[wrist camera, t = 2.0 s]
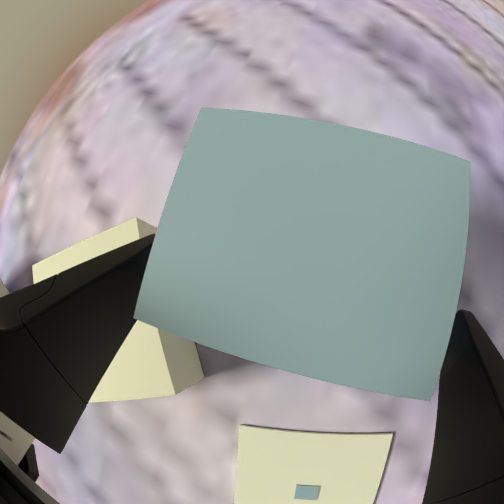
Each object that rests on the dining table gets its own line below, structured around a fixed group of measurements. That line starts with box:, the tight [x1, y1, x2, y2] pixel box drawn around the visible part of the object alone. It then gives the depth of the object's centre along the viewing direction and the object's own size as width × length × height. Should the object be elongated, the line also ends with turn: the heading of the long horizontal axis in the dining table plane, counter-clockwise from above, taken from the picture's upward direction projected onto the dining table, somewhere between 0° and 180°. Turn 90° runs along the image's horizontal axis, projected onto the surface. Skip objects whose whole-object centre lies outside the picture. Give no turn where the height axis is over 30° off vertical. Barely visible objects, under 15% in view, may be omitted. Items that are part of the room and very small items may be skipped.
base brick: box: [32, 218, 205, 402], centre depth 17 cm, size 9×9×4 cm
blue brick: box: [133, 108, 470, 401], centre depth 10 cm, size 4×5×12 cm
